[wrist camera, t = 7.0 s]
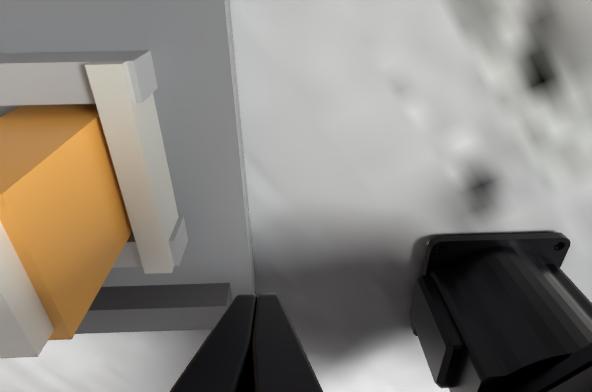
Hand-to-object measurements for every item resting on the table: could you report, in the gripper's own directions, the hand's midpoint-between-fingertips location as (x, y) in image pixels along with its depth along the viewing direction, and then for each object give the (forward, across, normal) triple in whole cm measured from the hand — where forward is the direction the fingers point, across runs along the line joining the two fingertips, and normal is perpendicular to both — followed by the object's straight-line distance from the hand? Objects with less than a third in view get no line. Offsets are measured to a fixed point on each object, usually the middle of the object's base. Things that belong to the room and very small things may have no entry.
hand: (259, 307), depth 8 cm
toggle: (+7, +7, 0) cm, 10 cm away
